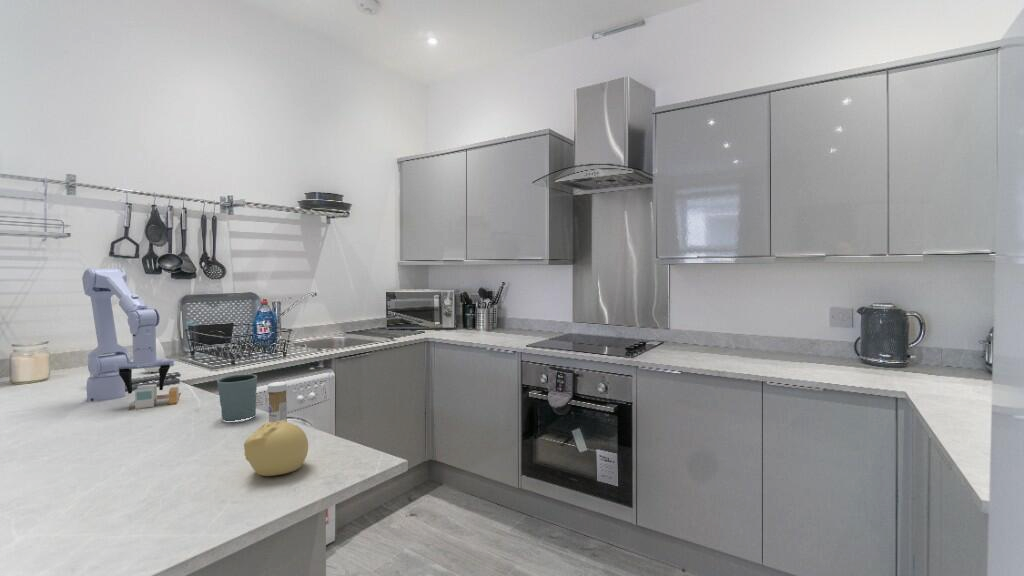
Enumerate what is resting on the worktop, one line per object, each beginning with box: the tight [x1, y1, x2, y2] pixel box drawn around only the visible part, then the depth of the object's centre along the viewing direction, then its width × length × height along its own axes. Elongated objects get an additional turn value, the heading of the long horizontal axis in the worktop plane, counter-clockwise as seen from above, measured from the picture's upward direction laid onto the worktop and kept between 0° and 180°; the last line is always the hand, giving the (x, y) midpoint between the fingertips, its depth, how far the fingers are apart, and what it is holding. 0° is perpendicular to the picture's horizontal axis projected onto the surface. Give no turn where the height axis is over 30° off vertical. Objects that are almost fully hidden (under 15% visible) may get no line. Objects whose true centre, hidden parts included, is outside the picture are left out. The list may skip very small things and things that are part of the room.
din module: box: [134, 383, 158, 410], centre depth 148 cm, size 4×7×6 cm, turn 30°
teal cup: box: [216, 373, 258, 421], centre depth 139 cm, size 10×10×12 cm
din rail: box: [128, 386, 180, 409], centre depth 149 cm, size 12×6×4 cm, turn 121°
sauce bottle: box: [143, 338, 166, 373], centre depth 200 cm, size 8×8×18 cm
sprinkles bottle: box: [267, 381, 288, 423], centre depth 126 cm, size 5×5×14 cm
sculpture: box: [243, 420, 309, 477], centre depth 103 cm, size 12×12×11 cm
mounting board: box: [128, 392, 182, 411], centre depth 152 cm, size 12×16×2 cm
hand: (145, 391), depth 148 cm, fingers open, 7 cm apart
